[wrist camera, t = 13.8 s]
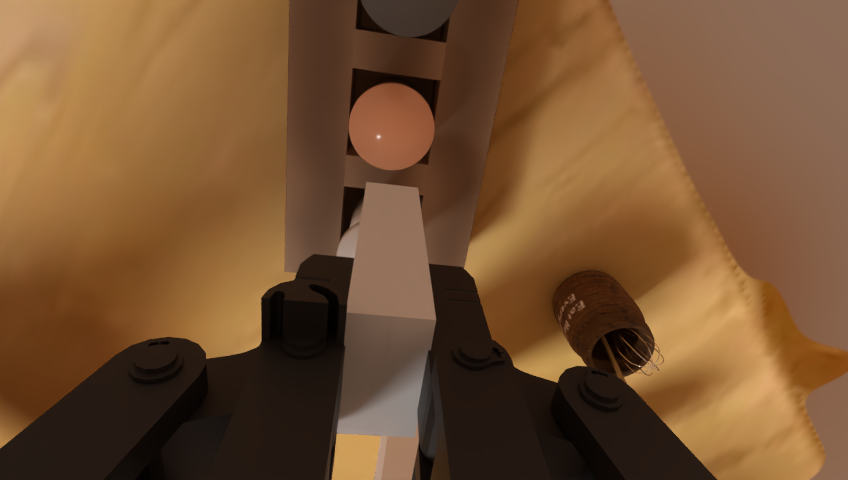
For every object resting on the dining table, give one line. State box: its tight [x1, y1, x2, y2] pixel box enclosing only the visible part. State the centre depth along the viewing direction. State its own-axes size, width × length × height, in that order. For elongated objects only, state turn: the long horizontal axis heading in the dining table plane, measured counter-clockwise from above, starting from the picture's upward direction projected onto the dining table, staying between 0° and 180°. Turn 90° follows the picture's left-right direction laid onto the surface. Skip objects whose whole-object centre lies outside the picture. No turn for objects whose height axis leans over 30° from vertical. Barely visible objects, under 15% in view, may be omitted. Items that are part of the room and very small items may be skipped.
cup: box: [374, 422, 419, 480], centre depth 35 cm, size 11×10×17 cm
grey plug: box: [336, 197, 364, 258], centre depth 29 cm, size 5×5×6 cm
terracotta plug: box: [349, 77, 435, 170], centre depth 28 cm, size 5×5×6 cm
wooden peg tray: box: [285, 0, 518, 273], centre depth 30 cm, size 12×22×5 cm, turn 172°
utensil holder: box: [553, 271, 664, 401], centre depth 35 cm, size 6×6×12 cm
